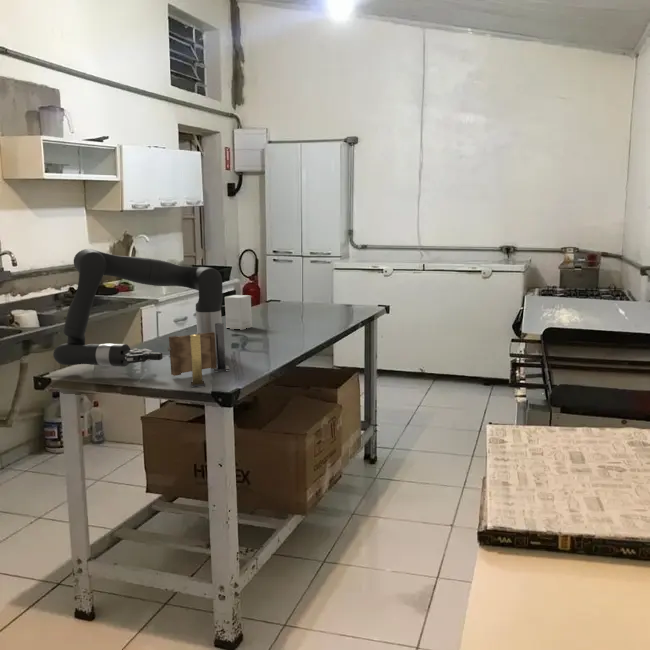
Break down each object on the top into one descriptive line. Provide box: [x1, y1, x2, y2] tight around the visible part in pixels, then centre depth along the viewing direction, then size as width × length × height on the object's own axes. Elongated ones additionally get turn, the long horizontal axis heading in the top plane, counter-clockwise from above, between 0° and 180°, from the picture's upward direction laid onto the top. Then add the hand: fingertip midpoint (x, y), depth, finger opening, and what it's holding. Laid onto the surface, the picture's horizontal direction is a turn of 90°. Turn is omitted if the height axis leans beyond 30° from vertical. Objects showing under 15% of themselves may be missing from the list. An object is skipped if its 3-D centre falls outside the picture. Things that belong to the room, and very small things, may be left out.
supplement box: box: [224, 294, 253, 331], centre depth 319 cm, size 9×9×15 cm
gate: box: [167, 332, 217, 377], centre depth 230 cm, size 17×2×13 cm, turn 128°
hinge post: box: [213, 322, 231, 372], centre depth 236 cm, size 5×5×16 cm
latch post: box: [189, 333, 206, 387], centre depth 216 cm, size 4×4×16 cm
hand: (161, 356), depth 228 cm, fingers closed
